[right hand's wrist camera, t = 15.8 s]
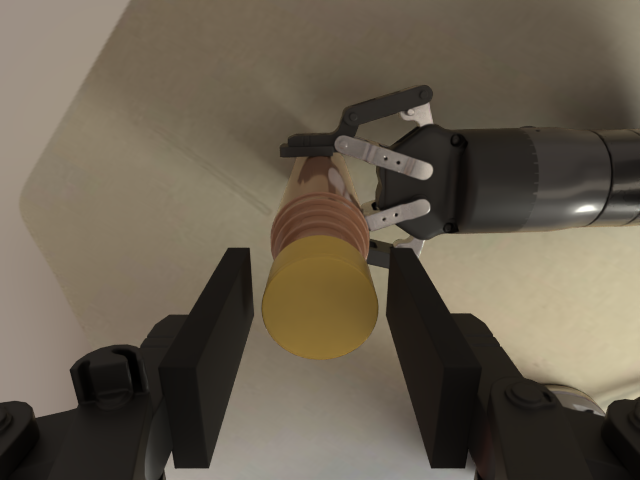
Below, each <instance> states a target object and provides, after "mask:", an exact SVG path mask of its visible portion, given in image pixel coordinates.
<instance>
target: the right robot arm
mask: <svg viewBox="0 0 640 480" xmlns="http://www.w3.org/2000/svg"><path fill="white" fill-rule="evenodd" d="M253 317H254V307H253V292H252V276H251V261H250V248H228V249H227V251H226V252H225V254H224V256H223V257H222V259H221V261H220V263H219V264H218V266H217V268H216V269H215V271H214V273H213V275H212V276H211V278H210V280H209V281H208V283H207V285H206V286H205V288H204V290H203V292H202V293H201V295H200V297H199V298H198V300H197V302H196V303H195V305H194V307H193V309H192V310H191V312H190V314H189V315H168V316H167V317H166V318H164V319H163V320H161V321H160V322H158V323H157V324H155V326H154V327H153V329H152V330H151V331H150V333H149V334H148V336H147V338H145V340H144V341H143V343H142V344H141V346H140V348H138V347H135V346H131V345H112V346H108V347H103V348H100V349H97V350H95V351H93V352H91V353H88V354H87V355H85V356H84V357H82V358H81V359H79V360H78V361H76V363H75V364H74V365H73V366H72V367H71V369H70V373H71V377H72V381H73V385H74V389H75V392H76V396H77V400H78V407H77V408H76V409H72V410H69V411H65V412H61V413H56V414H51V415H47V416H43V417H38V418H35V415H34V412H33V408H32V407H31V406H30V405H28V404H27V403H26V402H19V401H11V402H3V403H0V480H166V477H165V471H164V468H165V466H166V463H167V461H168V458H169V456H170V453H171V451H172V454H173V460H174V466H175V468H209V466H210V463H211V459H212V456H213V452H214V449H215V446H216V442H217V439H218V435H219V432H220V429H221V425H222V422H223V418H224V415H225V412H226V408H227V405H228V402H229V398H230V395H231V391H232V388H233V385H234V381H235V378H236V374H237V371H238V368H239V364H240V361H241V358H242V354H243V351H244V347H245V344H246V341H247V337H248V334H249V330H250V327H251V324H252V320H253ZM386 317H387V320H388V324H389V327H390V330H391V334H392V337H393V341H394V344H395V347H396V351H397V354H398V358H399V361H400V364H401V368H402V371H403V374H404V378H405V381H406V385H407V388H408V391H409V395H410V398H411V402H412V405H413V408H414V412H415V415H416V419H417V422H418V425H419V429H420V432H421V435H422V439H423V442H424V446H425V449H426V452H427V456H428V459H429V463H430V466H431V468H465V466H466V460H467V454H468V449H469V451H470V454H471V457H472V460H473V462H474V464H475V467H476V471H475V477H474V480H640V397H638V398H636V399H635V400H628V399H623V400H616V401H614V402H612V403H611V404H610V405H609V406H608V408H607V412H606V414H605V413H604V412H603V410H602V409H601V408H600V407H599V406H598V405H597V404H596V403H595V401H594V400H593V399H591V398H590V397H589V396H588V395H586V394H584V393H583V392H581V391H579V390H576V389H573V388H570V387H566V386H559V385H541V384H539V383H537V382H535V381H533V380H530V379H526V378H523V376H522V375H521V373H520V372H519V370H518V369H517V368H516V366H515V365H514V363H513V362H512V361H511V359H510V358H509V356H508V355H507V354H506V352H505V351H504V349H503V348H502V347H500V344H499V342H498V341H497V340H496V338H495V337H493V334H492V333H491V331H490V330H489V328H488V327H487V326H486V324H485V323H484V322H482V321H481V320H479V319H478V318H477V317H475V316H474V315H472V314H471V313H450V312H449V310H448V309H447V307H446V305H445V303H444V302H443V300H442V298H441V297H440V295H439V293H438V292H437V290H436V288H435V286H434V285H433V283H432V281H431V280H430V278H429V276H428V275H427V273H426V271H425V269H424V268H423V266H422V264H421V263H420V261H419V259H418V257H417V256H416V254H415V252H414V251H413V249H412V248H390V261H389V276H388V292H387V307H386Z"/></svg>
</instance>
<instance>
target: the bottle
mask: <svg viewBox="0 0 640 480" xmlns="http://www.w3.org/2000/svg"><path fill="white" fill-rule="evenodd" d="M314 235H326V236H332V237H336V238H339V239H342V240H344V241H346V242H348V243H349V244H351V245H352V246H354V247H355V248H356V249H357V250H358V251H359V252H360V253H361V254H362V256H363V257H364V259H365V260H366V259H367V257H368V252H369V238H370V237H369V229H368V225H367V222H366V219H365V216H364V214H363V211H362V208H361V205H360V202H359V200H358V197H357V194H356V191H355V188H354V186H353V183H352V180H351V177H350V174H349V171H348V169H347V166H346V163H345V160H344V158H343V156H342V154H341V153H333V156H317V157H297V158H296V161H295V163H294V166H293V169H292V172H291V175H290V177H289V180H288V183H287V186H286V189H285V191H284V194H283V197H282V200H281V203H280V206H279V208H278V211H277V214H276V217H275V220H274V222H273V225H272V229H271V251H272V256H273V259H274V261H275V259H276V257H277V256H278V255H279V253H280V252H281V251H282V250H283V249H284V248H285V247H287V246H288V245H289V244H291V243H292V242H294V241H296V240H299V239H301V238H304V237H308V236H314Z"/></svg>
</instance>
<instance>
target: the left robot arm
mask: <svg viewBox="0 0 640 480" xmlns="http://www.w3.org/2000/svg"><path fill="white" fill-rule="evenodd" d="M432 96H433V92H432V89H431V88H430V87H429V86H426V85H419V86H412V87H409V88H406V89H403V90H399V91H396V92H393V93H390V94H387V95H383V96H380V97H377V98H374V99H371V100H367V101H364V102H361V103H358V104H355V105H351V106H348V107H346V108H345V109H344V110H343V113H342V117H341V120H340V123H339V126H338V128H337V129H336V130H335V131H334V132H332V133H312V134H295V135H292V136H290V137H289V138H288V143H286V144H281V145H280V157H317V156H333V153H342V154H345V155H348V156H352V157H355V158H358V159H361V160H364V161H366V162H368V163H371V164H374V165H376V173H377V177H378V185H377V189H376V196H375V200H372V201H369V202H367V203H364V204H362V205H361V208H362V211H363V214H364V216H365V219H366V222H367V225H368V229H369V231H375V230H378V229H381V228H384V227H387V226H390V225H393V224H395V225H397V226H398V227H400V228H401V229H402V230H404V231H405V232H407V233H408V234H410V236H409V237H408V238H407V239H398V240H396V241H394V242H393V244H390V243H385V242H381V241H377V240H373V239H369V252H368V257H367V259H366V262H367V264H370V265H375V266H379V267H383V268H388V269H389V261H390V248H412V249H413V251H414V252H415V254H416V256H417V257H418V258H419V256H420V253H421V250H422V247H423V244H424V242H425V240H429V239H431V238H433V237H435V236H437V235H440V234H445V233H449V234H469V233H511V232H546V231H555V230H562V229H568V228H578V227H611V226H614V227H618V226H636V225H640V128H638V129H610V130H575V129H566V128H557V127H542V128H536V127H532V126H525V127H520V128H501V129H463V130H447V129H444V128H442V127H440V126H439V125H436V124H433V119H432V114H431V109H430V104H429V102H430V101H431V99H432ZM395 113H398V116H399V117H400V118H401V119H403V120H407V121H409V120H413V121H415V122H416V124H417V127H416V128H414V129H413V130H412V131H410V132H409V133H408V134H406V135H405V136H403V137H402V138H401V139H399V140H398V141H397V142H395V143H394V144H393V145H391V146H387V145H383V144H380V143H377V142H374V141H371V140H367V139H363V138H360V137H357V136H355V134H356V132H357V129H358V126H359V125H360V124H363V123H366V122H369V121H373V120H376V119H379V118H382V117H386V116H389V115H392V114H395ZM377 207H378V208H377ZM383 218H384V219H383Z"/></svg>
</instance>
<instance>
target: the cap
mask: <svg viewBox="0 0 640 480" xmlns="http://www.w3.org/2000/svg"><path fill="white" fill-rule="evenodd" d="M262 317H263V321H264V324H265V326H266V329H267V330H268V332H269V334H270V335H271V337H272V338H273V339H274V340H275V341H276V342H277V343H278V344H279V345H280V346H281V347H283V348H284V349H285V350H287V351H289V352H290V353H293V354H295V355H297V356H300V357H303V358H308V359H317V360H323V359H332V358H336V357H340V356H343V355H345V354H347V353H349V352H351V351H353V350H355V349H356V348H358V347H359V346H360V345H361V344H362V343H363V342H364V341H365V340H366V339H367V338H368V337H369V335H370V334H371V332H372V330H373V328H374V327H375V324H376V321H377V317H378V299H377V296H376V292H375V288H374V285H373V281H372V277H371V274H370V270H369V267H368V265H367V262H366V260H365V259H364V257H363V256H362V254H361V253H360V252H359V251H358V250H357V249H356V248H355V247H354V246H352V245H351V244H349V243H348V242H346V241H344V240H342V239H339V238H336V237H332V236H326V235H314V236H308V237H304V238H301V239H299V240H296V241H294V242H292V243H291V244H289V245H288V246H287V247H285V248H284V249H283V250H282V251H281V252H280V253H279V255H278V256H277V257H276V259H275V261H274V262H273V265H272V267H271V270H270V274H269V277H268V281H267V284H266V288H265V292H264V295H263V300H262Z"/></svg>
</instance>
